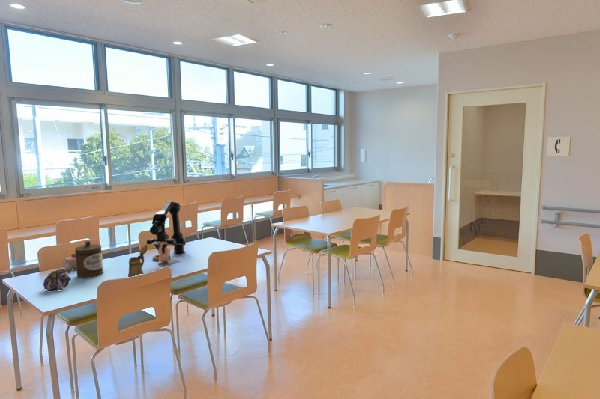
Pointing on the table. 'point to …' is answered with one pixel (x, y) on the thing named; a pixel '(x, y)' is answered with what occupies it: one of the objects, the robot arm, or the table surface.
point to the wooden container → (89, 260)
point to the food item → (70, 262)
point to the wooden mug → (137, 263)
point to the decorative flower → (57, 280)
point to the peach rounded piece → (164, 255)
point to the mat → (168, 262)
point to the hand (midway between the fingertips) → (162, 253)
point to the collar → (157, 258)
